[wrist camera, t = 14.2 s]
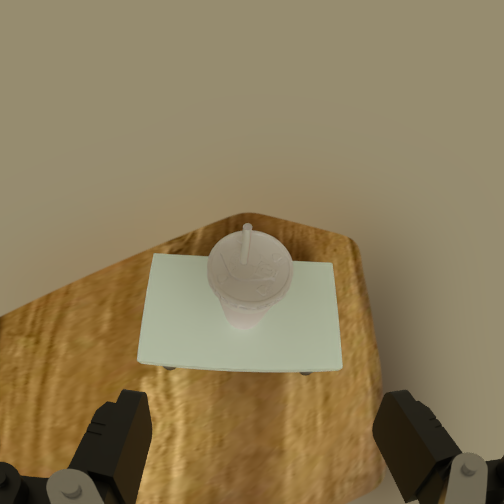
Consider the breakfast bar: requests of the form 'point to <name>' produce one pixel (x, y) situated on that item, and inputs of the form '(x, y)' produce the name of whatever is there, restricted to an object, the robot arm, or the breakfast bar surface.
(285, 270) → the smoothie
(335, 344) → the small table
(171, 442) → the breakfast bar surface
